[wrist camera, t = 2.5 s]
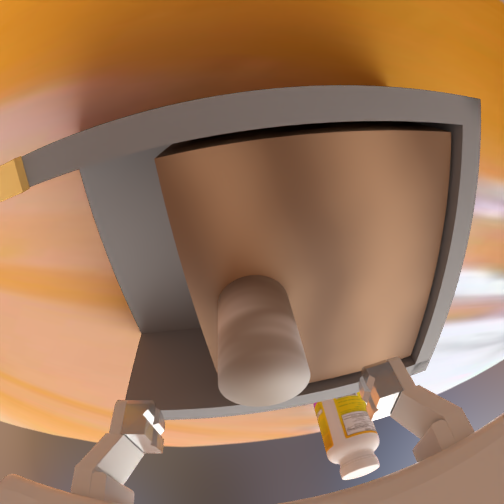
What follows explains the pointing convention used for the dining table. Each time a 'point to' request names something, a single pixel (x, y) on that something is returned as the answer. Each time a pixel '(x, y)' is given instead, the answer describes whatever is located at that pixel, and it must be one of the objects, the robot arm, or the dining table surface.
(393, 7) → the dining table surface
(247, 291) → the wooden block with knob
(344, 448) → the supplement bottle
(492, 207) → the dining table surface
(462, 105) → the bay
